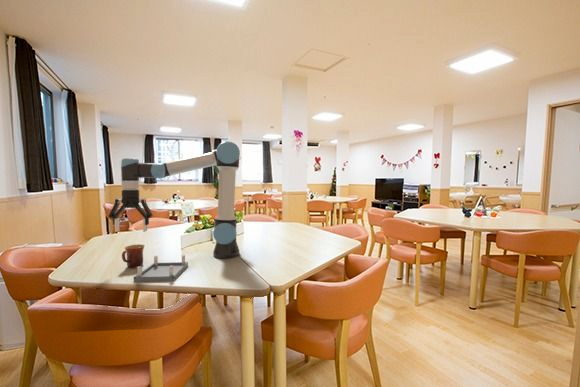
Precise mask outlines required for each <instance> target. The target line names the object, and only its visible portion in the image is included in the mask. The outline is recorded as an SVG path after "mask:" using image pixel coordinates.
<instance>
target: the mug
mask: <svg viewBox="0 0 580 387" xmlns="http://www.w3.org/2000/svg"><path fill="white" fill-rule="evenodd" d="M144 248H145V245H144V244H139V243H138V244H131V245H130V244H129V245H127V246H125V247H124V251H122V252H121V259H122V261H123V262H124V263H126V266H127V267H128V268H129V269H130V268H131V269H133V268H134V269H135V268H137V267H138V266H143V264H144V250H145V249H144Z"/></svg>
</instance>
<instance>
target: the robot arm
mask: <svg viewBox="0 0 580 387" xmlns="http://www.w3.org/2000/svg"><path fill="white" fill-rule="evenodd" d="M240 152H241V151H240V148H239V146H238V145H237V144H236V143H235V142H232V141H229V140H228V141H227V140H226V141H223V142H221V143H219V144H218V145H217V147H216V149H213V150H212V152H207V153H204V154H199V155H195V156H190V157H185V158H181V159H177V160H173V161H168V162H162V163H159V162H154V163H153V162H139V159H138V158H130V157H128V158H127V157H126V158H122V159H121V160H120V162H121V163H120V164H121V165H120V171H121V174H120V175H121V189H122V190H121V198H116V199H115V200H114V204H113V206H112V208H111V210H110V212H109V214H108V217H109V218H112V224H113V225H114V233H115V232H116V233H117V232H120V230H121V228H120V217H119V216H120V215H121V214H122V213H123V212H124V211H125V209H136V210H137V211H138V212H139V214H140V215H141V216H142V217H143V218H142V232H143V233H145V232H148V225H149V224H150V218H152V217H154V215H153V213H152V211H151V209H150V207H149V205H148V204H147V199H145V198H142V199H140V190H139V189H140V178H142V179H144V178H146V179H164V178H166V177H167V178H168V177H170V176H175V175H180V174H184V173H189V172H191V171H196V170H197V171H198V170H201V169H205V168H209V167H213V166H216V168H217V170H218V172H219V173H218V195H217V198H218V199H217V215H215V217H214V224H213V227H214V228H213V231H212V236H213V238H214V240H215V245H214V249H213V253H212V256H213V257H214V258H217V259H231V258H236V257H238V256H239V255H240V249H239V246H238V243H237V222H238V220H237V216H236V215H235V203H236V202H235V197H236V175H237V174H236V173H237V172H236V171H238V170H239V169H240V155H241V154H240ZM121 203H122V205H121ZM120 205H121V206H120ZM141 205H142V206H141ZM142 207H143V208H142ZM118 208H119V209H118Z"/></svg>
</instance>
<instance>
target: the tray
mask: <svg viewBox="0 0 580 387" xmlns="http://www.w3.org/2000/svg"><path fill="white" fill-rule="evenodd" d="M158 259H159V258H158V255H154V256H153V262H152V263H151V264H150V265H149V266H147V267H146V268H144V269H143V270H142V268H143V267H142V266H143V265H142V266H138V267H136V268H137V272H136V273H137V274H136V275H134V276H133V282H138V283H139V282H170V281H172V282H174V281H175V280H176V279H177V278H178V277H179V276H180V275H181V274H182V273H183V272H184V271H185V270H186V269H187V268H188V266H189V261H186V255H185V254H182V255H181V261H180V262H179V261H178V262H173V261H171V262H170V261H169V262H159V260H158Z"/></svg>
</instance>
